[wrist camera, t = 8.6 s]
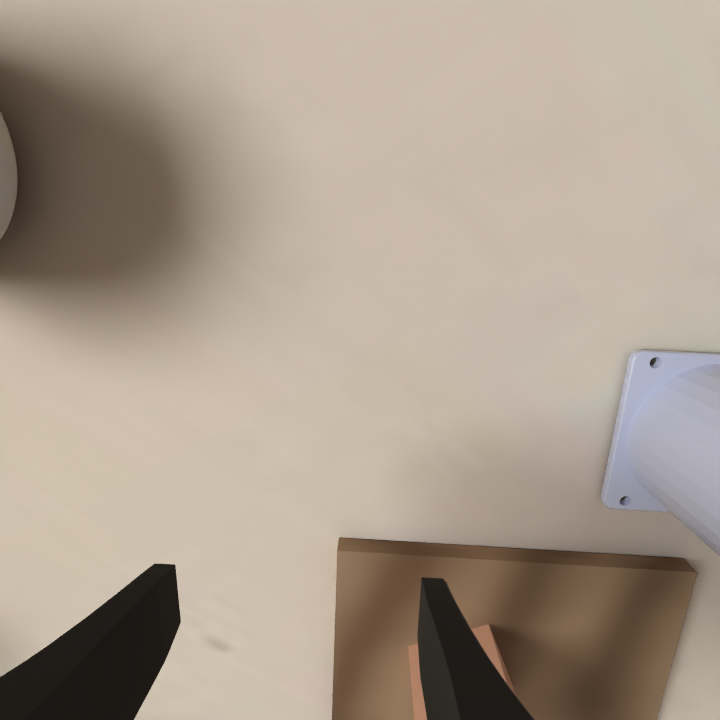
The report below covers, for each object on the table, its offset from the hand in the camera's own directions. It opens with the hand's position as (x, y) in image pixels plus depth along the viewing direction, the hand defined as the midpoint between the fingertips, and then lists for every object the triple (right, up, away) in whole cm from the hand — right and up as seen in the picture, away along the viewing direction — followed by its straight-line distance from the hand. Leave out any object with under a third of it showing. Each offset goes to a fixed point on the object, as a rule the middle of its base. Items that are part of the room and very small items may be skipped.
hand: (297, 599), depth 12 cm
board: (+9, -10, +12) cm, 18 cm away
